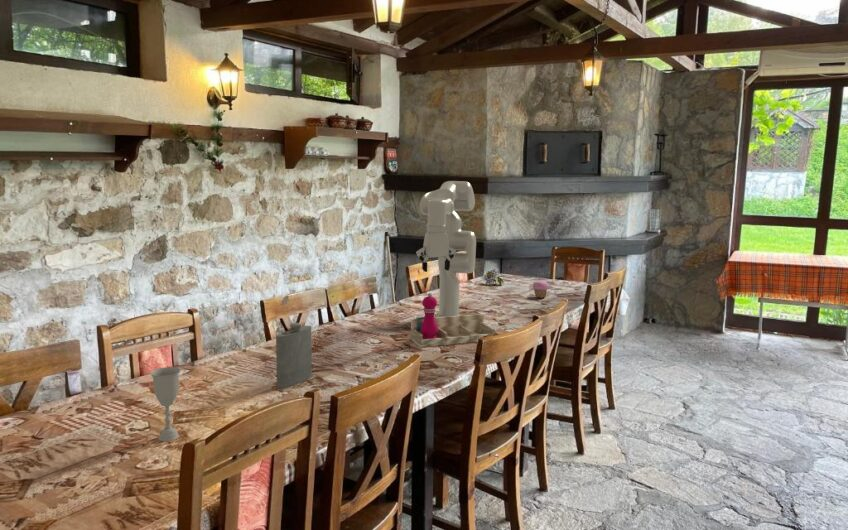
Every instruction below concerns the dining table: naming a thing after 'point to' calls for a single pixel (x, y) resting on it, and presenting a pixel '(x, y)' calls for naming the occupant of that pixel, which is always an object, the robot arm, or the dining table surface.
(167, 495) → the dining table surface
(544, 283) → the cupcake
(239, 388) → the dining table surface
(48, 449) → the dining table surface
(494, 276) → the passion flower
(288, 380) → the hip flask
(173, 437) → the chalice
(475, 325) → the rack
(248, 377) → the dining table surface
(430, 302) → the pepper mill
